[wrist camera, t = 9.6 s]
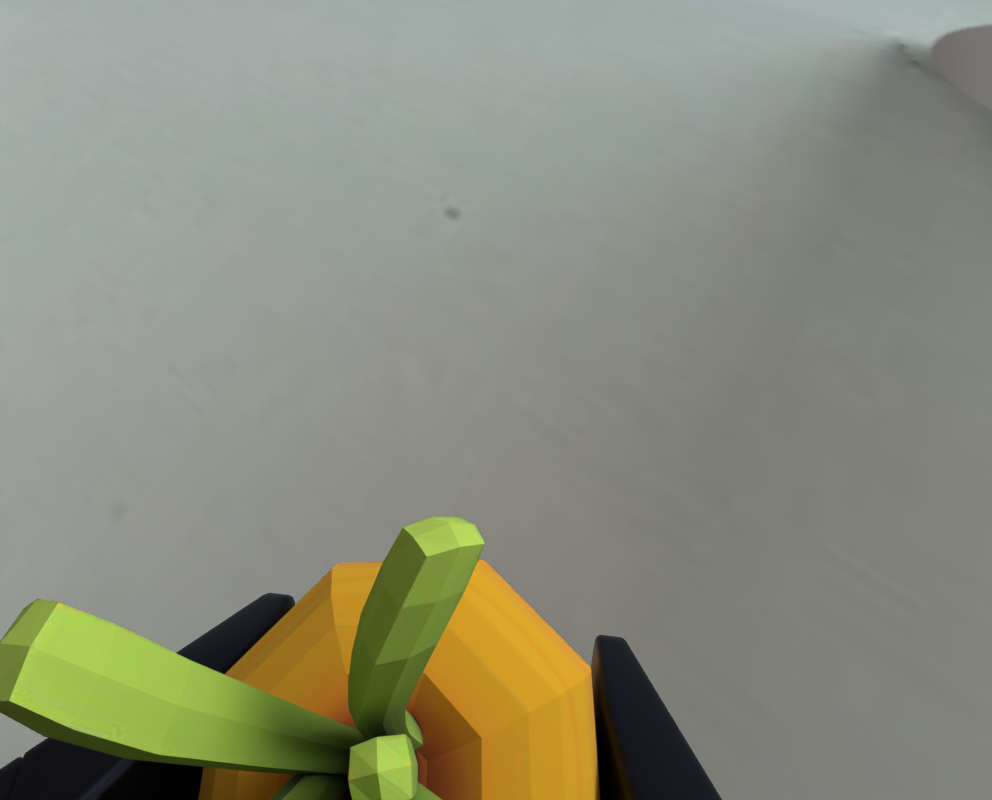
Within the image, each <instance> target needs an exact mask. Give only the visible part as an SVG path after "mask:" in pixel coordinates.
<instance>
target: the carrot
mask: <svg viewBox="0 0 992 800" xmlns="http://www.w3.org/2000/svg"><path fill="white" fill-rule="evenodd" d="M484 545H485V543H484V541H483V539H482V537H481V535H480V533H479V531H478V529H477V528H476V526H475V525H474V524H472V523H470V522H468V521H466V520H463V519H461V518H459V517H430V518H427V519H425V520H422V521H419V522H416V523H414V524H411V525H408V526H405V527H403V528H402V530H401V532H400V534H399V535H398V537H397V539H396V541H395V542H394V544H393V546H392V548H391V549H390V551H389V553H388V555H387V556H386V558H385V560H384V562H360V563H339V564H337V565H336V566H335V567H334V568H332V569H331V570H330V571H329V572H328V573H327V574H326V575H325V576H324V577H323V578H322V579H321V580H320V581H319V582H318V583H317V584H316V585H315V586H314V587H313V588H312V589H311V590H310V591H309V592H308V593H307V594H306V595H305V596H304V597H303V598H302V599H301V600H300V601H299V602H298V603H297V604H296V605H295V606H294V607H293V608H292V609H291V610H290V611H289V612H288V613H287V614H286V615H284V616H283V617H282V618H281V619H280V620H279V621H278V622H277V623H276V624H275V625H274V626H273V627H272V628H271V629H270V630H269V631H268V632H267V633H266V634H265V635H264V636H263V637H262V638H261V639H260V640H259V641H258V642H257V643H256V644H255V645H254V646H253V647H252V648H251V649H250V650H249V651H248V652H247V653H246V654H245V655H244V656H243V657H242V658H241V659H240V660H239V661H238V662H237V663H236V664H235V665H234V666H233V667H232V668H231V669H230V670H229V671H228V672H227V673H225V674H222V673H219V672H217V671H215V670H212V669H210V668H208V667H205V666H203V665H201V664H198V663H196V662H193V661H191V660H189V659H187V658H185V657H183V656H181V655H178V654H176V653H174V652H172V651H170V650H168V649H166V648H164V647H162V646H160V645H158V644H156V643H153V642H151V641H149V640H147V639H145V638H143V637H141V636H139V635H137V634H135V633H133V632H131V631H128V630H126V629H124V628H122V627H120V626H118V625H116V624H113V623H110V622H108V621H105V620H103V619H100V618H98V617H95V616H92V615H90V614H87V613H85V612H82V611H80V610H77V609H75V608H72V607H69V606H67V605H64V604H62V603H59V602H54V601H48V600H42V599H37V600H35V601H34V602H32V603H31V604H29V605H28V606H27V607H25V608H24V609H23V610H22V612H21V613H20V615H19V616H18V617H17V619H16V620H15V622H14V623H13V624H12V626H11V627H10V628H9V630H8V631H7V633H6V634H5V635H4V637H3V638H2V640H1V641H0V712H1V713H2V714H4V715H6V716H8V717H10V718H12V719H13V720H15V721H17V722H19V723H21V724H23V725H24V726H26V727H28V728H30V729H32V730H34V731H35V732H37V733H39V734H41V735H43V736H45V737H49V738H52V739H56V740H60V741H63V742H67V743H70V744H74V745H78V746H81V747H85V748H89V749H92V750H96V751H99V752H103V753H107V754H110V755H114V756H117V757H121V758H125V759H132V760H142V761H152V762H161V763H171V764H181V765H190V766H200V767H203V773H202V779H201V786H200V793H199V799H198V800H600V789H599V775H598V761H597V747H596V732H595V718H594V704H593V689H592V675H591V667H590V666H589V665H588V664H587V663H586V662H585V661H584V660H583V659H582V658H581V657H580V656H579V655H578V654H577V653H576V652H575V651H574V650H573V649H572V648H571V647H570V646H569V645H568V644H567V643H566V642H565V641H564V640H563V639H562V638H561V637H560V636H559V635H558V634H557V633H556V632H555V631H554V630H553V629H552V628H551V627H550V626H549V625H548V624H547V623H546V622H545V621H544V620H543V619H542V618H541V617H540V616H539V615H538V614H537V613H536V612H535V611H534V610H533V609H532V608H531V607H530V606H529V605H528V604H527V603H526V602H525V601H524V600H523V599H522V598H521V597H520V596H519V595H518V594H517V593H516V592H515V591H514V590H513V589H512V588H511V587H510V586H509V585H508V584H507V583H506V582H505V581H504V580H503V578H502V577H501V576H500V575H499V574H498V573H497V572H496V571H495V570H494V569H493V568H492V567H491V566H490V565H489V564H488V563H487V562H486V561H485V560H478V559H479V557H480V554H481V552H482V549H483V547H484Z"/></svg>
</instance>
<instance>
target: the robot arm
mask: <svg viewBox="0 0 992 800" xmlns="http://www.w3.org/2000/svg"><path fill="white" fill-rule="evenodd" d="M294 606H295V601H294V599H293V597H292V596H289V595H284V594H276V593H267V594H265V595H263V596H261V597H260V598H258V599H257V600H255V601H254V602H252V603H251V604H249V605H248V606H246V607H245V608H243V609H242V610H240V611H239V612H237V613H236V614H234V615H232V616H231V617H229V618H228V619H226V620H225V621H223V622H222V623H220V624H219V625H217V626H216V627H214V628H213V629H211V630H210V631H208V632H207V633H205V634H204V635H202V636H201V637H199V638H198V639H196V640H195V641H193V642H192V643H190V644H189V645H187V646H186V647H184V648H183V649H181V650H180V651H178V652H177V653H176V654H178V655H181V656H183V657H185V658H187V659H189V660H191V661H193V662H196V663H198V664H201V665H203V666H205V667H208V668H210V669H212V670H215V671H217V672H219V673H222V674H225V673H227V672H228V671H229V670H230V669H231V668H232V667H233V666H234V665H235V664H236V663H237V662H238V661H239V660H240V659H241V658H242V657H243V656H244V655H245V654H246V653H247V652H248V651H249V650H250V649H251V648H252V647H253V646H254V645H255V644H256V643H257V642H258V641H259V640H260V639H261V638H262V637H263V636H264V635H265V634H266V633H267V632H268V631H269V630H270V629H271V628H272V627H273V626H274V625H275V624H276V623H277V622H278V621H279V620H280V619H281V618H282V617H283V616H284V615H286V614H287V613H288V612H289V611H290V610H291V609H292V608H293V607H294ZM591 675H592V689H593V704H594V718H595V732H596V747H597V761H598V775H599V789H600V800H722V799H721V797H720V796H719V794H718V792H717V791H716V789H715V787H714V786H713V784H712V783H711V781H710V779H709V778H708V776H707V774H706V773H705V771H704V769H703V768H702V766H701V764H700V763H699V761H698V759H697V758H696V756H695V754H694V753H693V751H692V750H691V748H690V746H689V745H688V743H687V741H686V740H685V738H684V736H683V735H682V733H681V731H680V730H679V728H678V726H677V725H676V723H675V721H674V720H673V718H672V717H671V715H670V713H669V712H668V710H667V708H666V707H665V705H664V703H663V702H662V700H661V698H660V697H659V695H658V693H657V692H656V690H655V688H654V687H653V685H652V684H651V682H650V680H649V679H648V677H647V675H646V674H645V672H644V670H643V669H642V667H641V665H640V664H639V662H638V660H637V659H636V657H635V655H634V654H633V652H632V651H631V649H630V647H629V646H628V644H627V642H626V641H625V640H624V639H623V638H621V637H614V636H606V635H599V636H597V637H596V639H595V644H594V651H593V657H592V663H591ZM202 773H203V767H200V766H190V765H181V764H171V763H161V762H152V761H142V760H132V759H125V758H121V757H117V756H114V755H110V754H107V753H103V752H99V751H96V750H92V749H89V748H85V747H81V746H78V745H74V744H70V743H67V742H63V741H60V740H56V739H52V738H49V737H48V738H47V739H45V740H44V741H42V742H41V743H39V744H38V745H36V746H35V747H33V748H32V749H30V750H29V751H27V752H26V753H25V755H24V757H23V758H22V757H19V758H16V759H15V760H13V761H12V762H10V763H9V764H7V765H6V766H4V767H3V768H1V769H0V800H198V799H199V793H200V786H201V779H202Z"/></svg>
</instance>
